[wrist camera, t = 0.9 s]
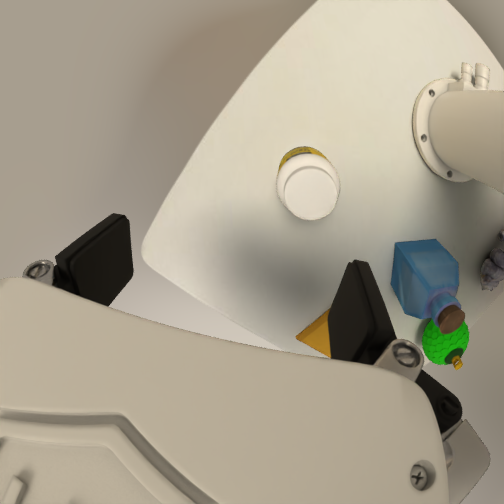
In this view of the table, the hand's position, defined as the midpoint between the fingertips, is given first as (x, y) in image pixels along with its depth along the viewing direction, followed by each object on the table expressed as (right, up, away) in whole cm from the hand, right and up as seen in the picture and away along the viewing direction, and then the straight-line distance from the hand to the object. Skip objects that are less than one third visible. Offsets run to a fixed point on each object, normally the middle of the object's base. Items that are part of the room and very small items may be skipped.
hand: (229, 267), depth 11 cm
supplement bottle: (+6, +9, +17) cm, 20 cm away
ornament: (+31, -10, +24) cm, 40 cm away
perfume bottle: (+22, -1, +20) cm, 30 cm away
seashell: (+37, 0, +18) cm, 41 cm away
